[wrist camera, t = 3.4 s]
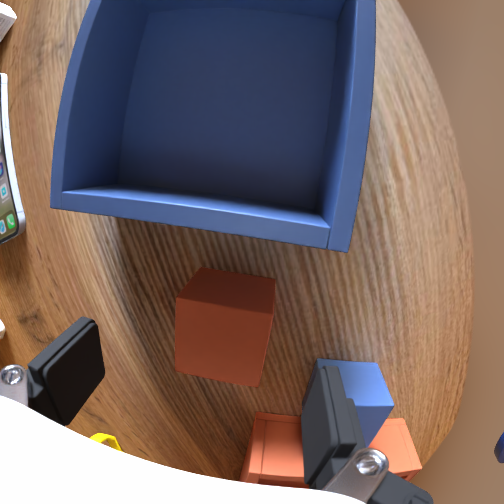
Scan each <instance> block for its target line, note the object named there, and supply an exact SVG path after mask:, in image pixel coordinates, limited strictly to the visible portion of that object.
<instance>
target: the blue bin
mask: <svg viewBox="0 0 504 504" xmlns="http://www.w3.org/2000/svg"><path fill="white" fill-rule="evenodd" d="M375 45H376V0H90V3H89V5H88V8H87V10H86V13H85V16H84V18H83V21H82V24H81V27H80V29H79V32H78V35H77V38H76V42H75V45H74V48H73V51H72V55H71V58H70V62H69V66H68V70H67V74H66V78H65V82H64V87H63V91H62V96H61V101H60V107H59V112H58V118H57V125H56V132H55V140H54V149H53V159H52V172H51V193H50V208H53V209H61V210H68V211H75V212H83V213H90V214H97V215H105V216H112V217H119V218H126V219H133V220H140V221H147V222H154V223H161V224H168V225H174V226H181V227H188V228H194V229H201V230H208V231H214V232H221V233H227V234H234V235H240V236H246V237H253V238H259V239H265V240H271V241H278V242H284V243H290V244H296V245H302V246H308V247H314V248H320V249H326V248H327V249H328V250H332V251H338V252H344V253H348V250H349V246H350V241H351V236H352V232H353V227H354V222H355V217H356V212H357V206H358V201H359V195H360V190H361V184H362V178H363V171H364V165H365V158H366V151H367V143H368V135H369V127H370V118H371V108H372V97H373V84H374V69H375Z"/></svg>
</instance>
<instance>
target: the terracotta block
mask: <svg viewBox="0 0 504 504" xmlns="http://www.w3.org/2000/svg"><path fill="white" fill-rule="evenodd" d="M275 284H276V280H275V279H271V278H264V277H258V276H252V275H246V274H240V273H234V272H228V271H222V270H217V269H211V268H205V267H200V268H199V270H198V271H197V272H196V273H195V274H194V276H193V277H192V278H191V279H190V281H189V282H188V283H187V284H186V286H185V287H184V288H183V289H182V291H181V292H180V293H179V294H178V296H177V297H176V312H175V371H177V372H181V373H185V374H189V375H194V376H198V377H203V378H207V379H212V380H217V381H222V382H227V383H233V384H238V385H244V386H250V387H259V384H260V380H261V375H262V371H263V366H264V361H265V357H266V352H267V347H268V342H269V337H270V332H271V327H272V322H273V317H274V304H275Z"/></svg>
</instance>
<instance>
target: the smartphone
mask: <svg viewBox="0 0 504 504" xmlns="http://www.w3.org/2000/svg"><path fill="white" fill-rule="evenodd" d="M25 226H26V220H25V215H24V211H23V207H22V203H21V199H20V194H19V189H18V185H17V179H16V174H15V168H14V162H13V156H12V149H11V140H10V131H9V119H8V101H7V75H6V74H4V73H0V245H1V244H3V243H5V242H6V241H8V240H10V239H12V238H14V237H16V236H18V235H20V234H21V233H23V232H24V230H25Z"/></svg>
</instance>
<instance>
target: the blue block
mask: <svg viewBox="0 0 504 504" xmlns="http://www.w3.org/2000/svg"><path fill="white" fill-rule="evenodd" d="M324 365H326V366H337V367H338V368H339V371H340V375H341V379H342V382H343V386H344V390H345V394H346V398H352V399H353V400H354V403H355V407H356V410H357V414H358V418H359V421H360V425H361V429H362V433H363V437H364V441H365V445H366V448H368V447H369V445H370V444H371V442H372V441H373V439H374V438H375V436H376V435H377V433H378V432H379V430H380V429H381V427H382V425H383V424H384V422H385V421H386V419H387V417H388V416H389V414H390V412H391V411H392V409H393V407H394V403H393V400H392V398H391V395H390V393H389V390H388V388H387V386H386V383H385V381H384V378H383V376H382V374H381V371H380V369H379V367H378V365H377V363H368V362H353V361H341V360H330V359H320V358H317V360H316V363H315V366H314V369H313V372H312V375H311V378H310V381H309V384H308V387H307V390H306V393H305V396H304V398H303V401H302V411H303V409H304V406H305V403H306V401H307V398H308V395H309V393H310V390H311V387H312V384H313V382H314V379H315V376H316V373H317V370H318V369H319V368H320V369H322V368H323V366H324Z"/></svg>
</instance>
